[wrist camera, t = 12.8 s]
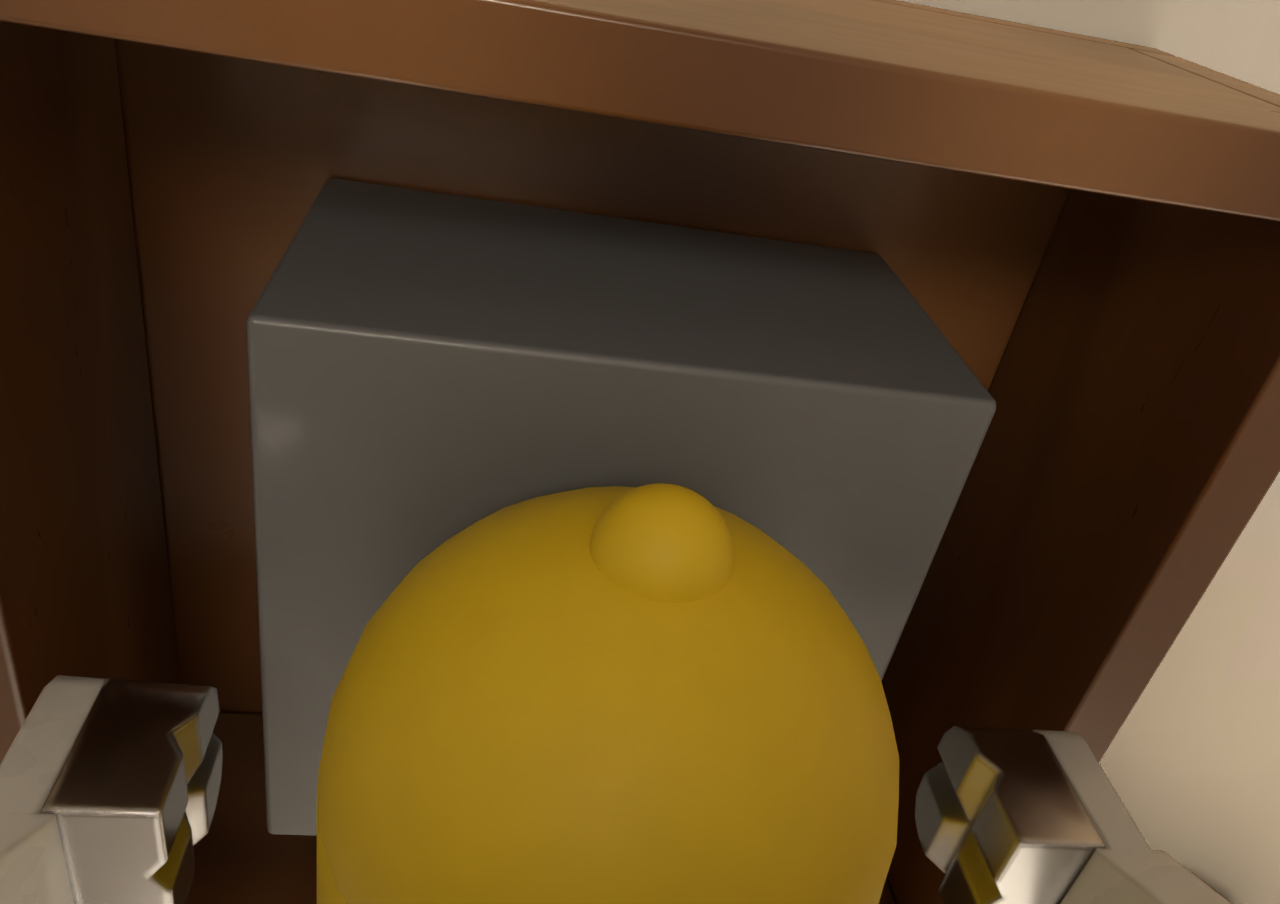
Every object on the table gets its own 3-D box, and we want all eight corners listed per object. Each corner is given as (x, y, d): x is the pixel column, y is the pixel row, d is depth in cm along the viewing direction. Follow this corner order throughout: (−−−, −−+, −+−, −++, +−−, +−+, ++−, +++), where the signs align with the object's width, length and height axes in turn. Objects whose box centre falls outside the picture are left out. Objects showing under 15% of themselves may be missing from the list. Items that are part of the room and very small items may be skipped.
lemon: (734, 870, 15) (789, 1333, 10) (369, 838, 14) (255, 1315, 10) (910, 383, 10) (1145, 814, 6) (393, 306, 10) (202, 723, 5)
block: (323, 617, 17) (265, 837, 14) (326, 174, 13) (243, 315, 10) (755, 645, 19) (811, 853, 15) (882, 252, 15) (1002, 403, 11)
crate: (153, 710, 19) (29, 1000, 14) (45, -159, 11) (-293, -143, 7) (860, 746, 22) (951, 1004, 17) (1158, 48, 14) (1473, 164, 9)
